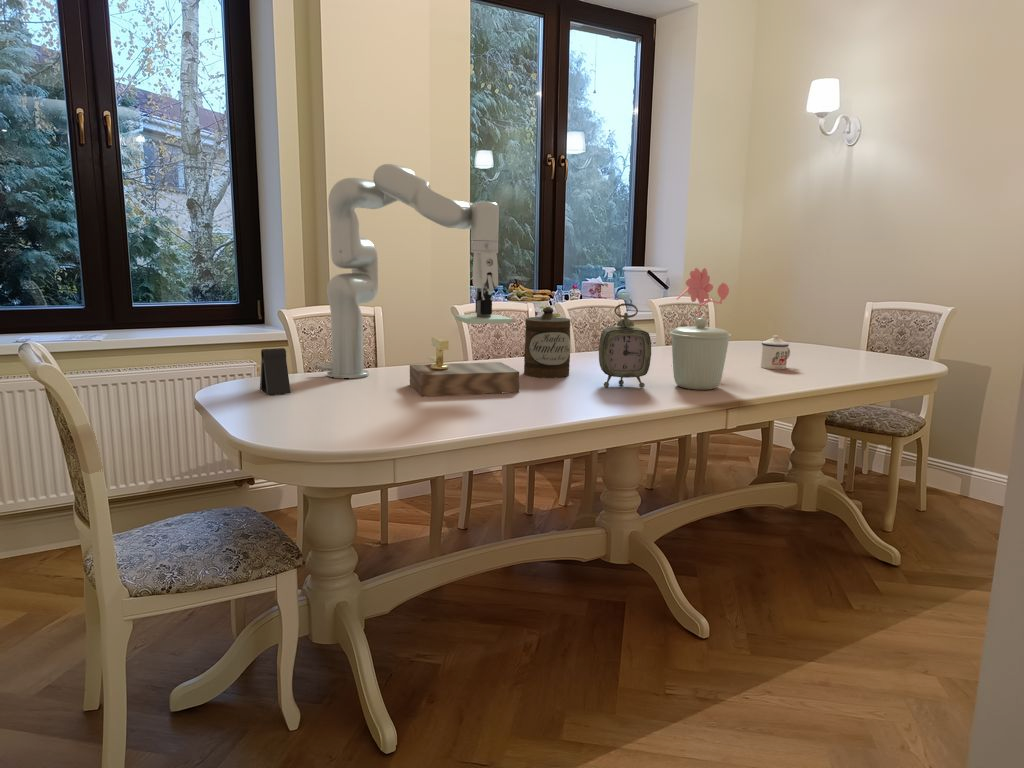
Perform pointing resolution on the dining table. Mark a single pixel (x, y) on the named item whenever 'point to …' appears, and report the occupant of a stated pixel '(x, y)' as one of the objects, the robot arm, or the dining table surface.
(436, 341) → the t-shaped display stand
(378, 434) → the dining table surface
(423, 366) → the walnut case
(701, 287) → the pink paper flower
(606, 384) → the tabletop clock
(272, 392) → the black folding stand
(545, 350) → the wooden container
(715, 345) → the canister
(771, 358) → the teacup with lid
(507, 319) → the lid
